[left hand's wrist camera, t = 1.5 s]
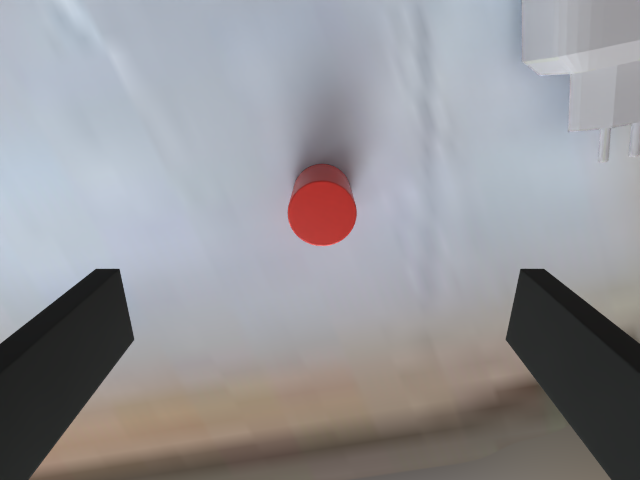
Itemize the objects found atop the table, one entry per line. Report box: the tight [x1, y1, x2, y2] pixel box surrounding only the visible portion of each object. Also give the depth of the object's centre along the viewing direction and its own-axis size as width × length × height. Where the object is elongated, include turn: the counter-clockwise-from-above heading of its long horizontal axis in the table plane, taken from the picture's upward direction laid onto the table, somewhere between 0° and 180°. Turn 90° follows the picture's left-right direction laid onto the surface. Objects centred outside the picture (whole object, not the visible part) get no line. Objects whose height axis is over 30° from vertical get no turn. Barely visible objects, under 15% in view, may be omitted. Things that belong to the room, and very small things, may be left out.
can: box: [288, 164, 357, 246], centre depth 23 cm, size 4×4×5 cm
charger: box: [522, 0, 640, 163], centre depth 19 cm, size 5×9×15 cm
